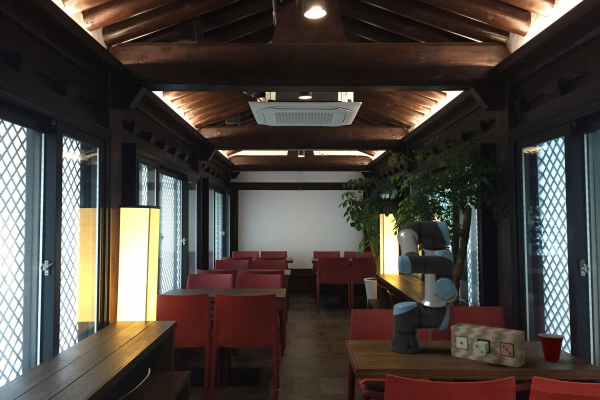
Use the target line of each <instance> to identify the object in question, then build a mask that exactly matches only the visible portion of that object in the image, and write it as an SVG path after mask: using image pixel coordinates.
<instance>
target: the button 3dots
mask: <svg viewBox="0 0 600 400" xmlns="http://www.w3.org/2000/svg"><path fill="white" fill-rule="evenodd" d="M513 354H514V344H511V343H501V355H507V356H513Z"/></svg>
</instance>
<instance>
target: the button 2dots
mask: <svg viewBox="0 0 600 400" xmlns="http://www.w3.org/2000/svg"><path fill="white" fill-rule="evenodd" d="M473 347H474V354H478V355H484V356H485V355H486V352H488V351H489V342H488V341H481V340H480V341H478V342H473Z"/></svg>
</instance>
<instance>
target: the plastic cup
mask: <svg viewBox="0 0 600 400" xmlns="http://www.w3.org/2000/svg"><path fill="white" fill-rule="evenodd" d="M537 335H538V337H539V339H540V343H541V349H542V353H543V357H544V360H545V361H546V362H548V363H559V362H560V358H561V353H562V348H563V346H562V345H563V341H564V338H565V335H562V334H556V333H538V334H537Z"/></svg>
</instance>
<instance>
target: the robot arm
mask: <svg viewBox="0 0 600 400" xmlns="http://www.w3.org/2000/svg"><path fill="white" fill-rule="evenodd" d="M396 236H397V237H396V238H397V239H396V240H397V243H398V245H400V251H401V252H400V253H401V255H399V256H398V257H397V260H398V261H397V266H398V267H397V268H398V272H399V273H400V274H405V275H424V298H423V300H421V304H419V305H418V303H417V301H402V302H398V303H396V304H394V305H393V312H392V315H393V334H392V337H391V340H390V343H389V349H390V351H392V352H394V353H399V354H409V355H410V354H419V353H420V352H421V351H422V345H421V341H420V338H419V337H418V336H419V335H418V330H430V331H444V330H447V327H448V325H449V321H450V308H449V306H448V305H453V306H456V305H461V304H463V305H464V304H466V303H465V301H466V299H467V298H466V297H464V296H460V295H459V291H458V290H457V288H456V279H455V266H454V265H455V262H454V255H453V252H452V251H450V250H447V247H448V246H450V245H451V238H450V231H449V226H448V224H447V223H446V222H445V221H439V220H428V221H426V220H423V221H420V220H419V221H410V222H408V223H405V224H404V225H403V226H402V227H400V229H399V230H398V232H397V235H396ZM419 246H421V249H422V251H424V255H420V251H419Z"/></svg>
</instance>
